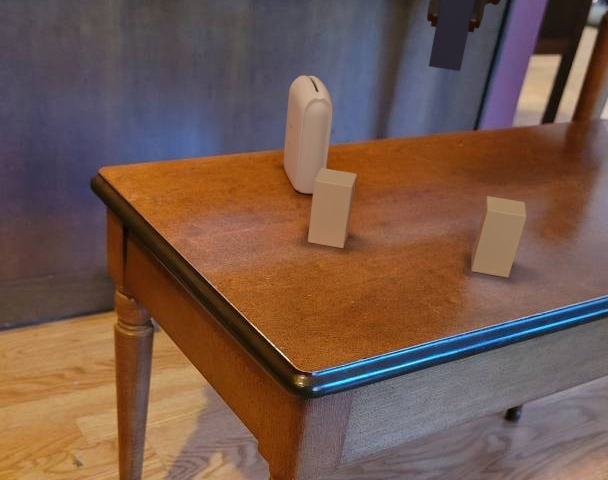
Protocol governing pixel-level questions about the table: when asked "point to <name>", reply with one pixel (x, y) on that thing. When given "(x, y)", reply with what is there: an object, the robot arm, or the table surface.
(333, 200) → the post
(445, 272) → the table surface
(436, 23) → the robot arm
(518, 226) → the post
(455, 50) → the navy block
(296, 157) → the photo printer
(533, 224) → the table surface
